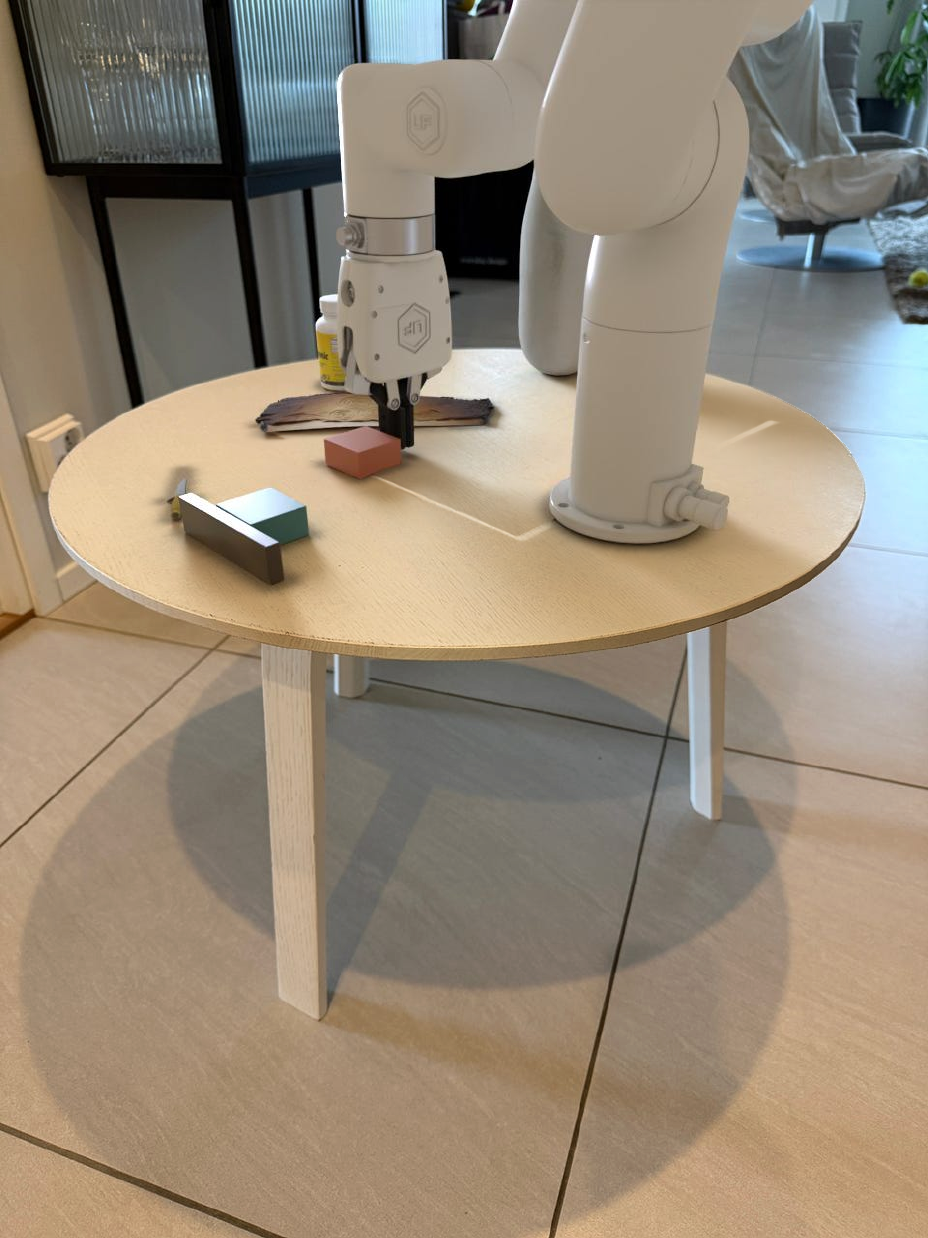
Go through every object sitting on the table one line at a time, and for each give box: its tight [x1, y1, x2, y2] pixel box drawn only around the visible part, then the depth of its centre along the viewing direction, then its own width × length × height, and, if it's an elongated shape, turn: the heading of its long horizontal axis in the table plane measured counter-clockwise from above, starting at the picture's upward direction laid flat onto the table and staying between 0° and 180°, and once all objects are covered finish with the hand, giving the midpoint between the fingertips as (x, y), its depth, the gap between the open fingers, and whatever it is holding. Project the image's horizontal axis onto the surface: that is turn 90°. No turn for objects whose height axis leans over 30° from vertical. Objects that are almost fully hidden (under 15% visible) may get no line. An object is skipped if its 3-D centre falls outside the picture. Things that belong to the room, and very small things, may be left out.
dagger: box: [166, 477, 187, 521], centre depth 75 cm, size 11×1×2 cm
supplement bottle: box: [315, 293, 368, 391], centre depth 99 cm, size 5×5×10 cm
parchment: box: [255, 391, 495, 433], centre depth 92 cm, size 25×10×1 cm, turn 97°
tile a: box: [215, 486, 310, 546], centre depth 68 cm, size 5×5×2 cm
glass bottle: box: [518, 166, 595, 377], centre depth 99 cm, size 10×10×28 cm
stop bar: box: [178, 492, 285, 586], centre depth 65 cm, size 12×1×3 cm, turn 45°
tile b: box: [323, 426, 402, 480], centre depth 80 cm, size 5×5×2 cm
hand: (397, 444), depth 83 cm, fingers closed
